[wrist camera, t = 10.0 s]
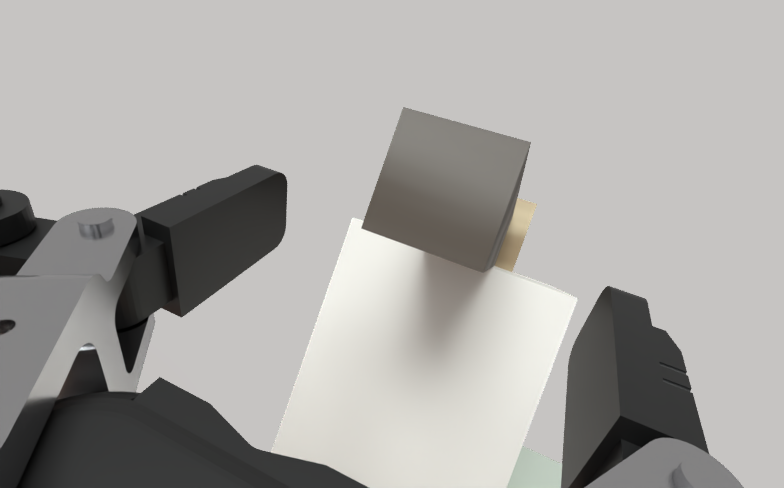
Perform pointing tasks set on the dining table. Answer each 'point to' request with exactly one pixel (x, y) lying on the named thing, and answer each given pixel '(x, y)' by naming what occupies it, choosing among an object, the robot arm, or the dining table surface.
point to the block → (452, 192)
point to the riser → (425, 371)
